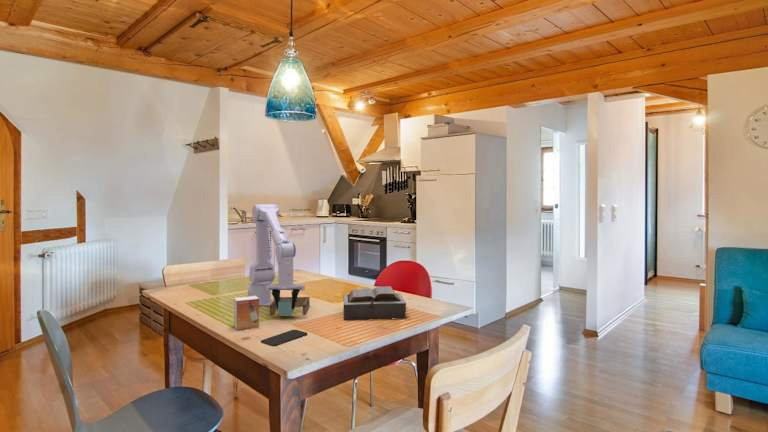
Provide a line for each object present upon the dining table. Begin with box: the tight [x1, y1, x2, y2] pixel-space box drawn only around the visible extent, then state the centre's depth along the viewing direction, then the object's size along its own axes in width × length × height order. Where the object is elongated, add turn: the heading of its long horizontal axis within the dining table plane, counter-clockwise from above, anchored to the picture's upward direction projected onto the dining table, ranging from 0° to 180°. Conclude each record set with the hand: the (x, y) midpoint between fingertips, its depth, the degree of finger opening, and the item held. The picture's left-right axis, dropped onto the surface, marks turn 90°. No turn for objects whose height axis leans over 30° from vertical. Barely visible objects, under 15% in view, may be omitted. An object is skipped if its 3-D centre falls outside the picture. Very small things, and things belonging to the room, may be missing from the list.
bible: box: [343, 285, 407, 321], centre depth 176 cm, size 23×27×10 cm
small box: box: [233, 296, 260, 331], centre depth 157 cm, size 8×6×10 cm
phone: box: [260, 329, 308, 347], centre depth 145 cm, size 7×1×15 cm
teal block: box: [277, 299, 295, 316], centre depth 169 cm, size 5×5×5 cm
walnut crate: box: [269, 296, 311, 316], centre depth 179 cm, size 14×14×4 cm
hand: (285, 308), depth 169 cm, fingers closed on teal block, 5 cm apart
